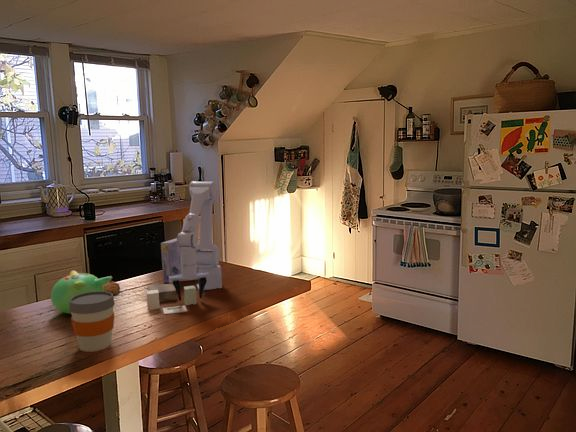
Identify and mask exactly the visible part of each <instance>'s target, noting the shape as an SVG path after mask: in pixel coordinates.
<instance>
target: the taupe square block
mask: <svg viewBox="0 0 576 432" xmlns="http://www.w3.org/2000/svg"><path fill="white" fill-rule="evenodd" d="M150 290H158V292H159V303H160V302H168V301H175V300H177V291H176V289H175V287H174V285H173V283H164V284H163V283H162V284H153V285H147V290H146V291H150Z"/></svg>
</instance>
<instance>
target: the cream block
mask: <svg viewBox="0 0 576 432" xmlns="http://www.w3.org/2000/svg"><path fill="white" fill-rule="evenodd" d="M146 305H147V306H146V307H147V310H148V311H152V310H159V309H160V308H161V307H160V302H159V292H158V290H150V291H148V290H146Z"/></svg>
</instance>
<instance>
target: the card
mask: <svg viewBox="0 0 576 432" xmlns="http://www.w3.org/2000/svg"><path fill="white" fill-rule="evenodd" d="M162 312H163V315H173V314H178V313H186V312H188V309H187V308H186V305H177V306H171V307H170V306H169V307H162Z"/></svg>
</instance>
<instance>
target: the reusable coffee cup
mask: <svg viewBox="0 0 576 432" xmlns="http://www.w3.org/2000/svg"><path fill="white" fill-rule="evenodd" d="M114 306H115V299H114V294H112V293H110V292H105V291H94V292H87V293H82V294H78V295H76V296H74V297H72V298H71V299H70V302H69V311H70V312H71V314H70V315H71V317H70V321H71V325H72V329H73V334H75V336H76V339H77V343H78V348H79V350H80V351H82V352H88V353H89V352H98V351H101V350H105V349H107V348H109V347H110V346H111V345H112V334H113V329H114V327H115V326H114V324H115V323H114V322H115V321H114V320H115V311H114Z"/></svg>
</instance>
